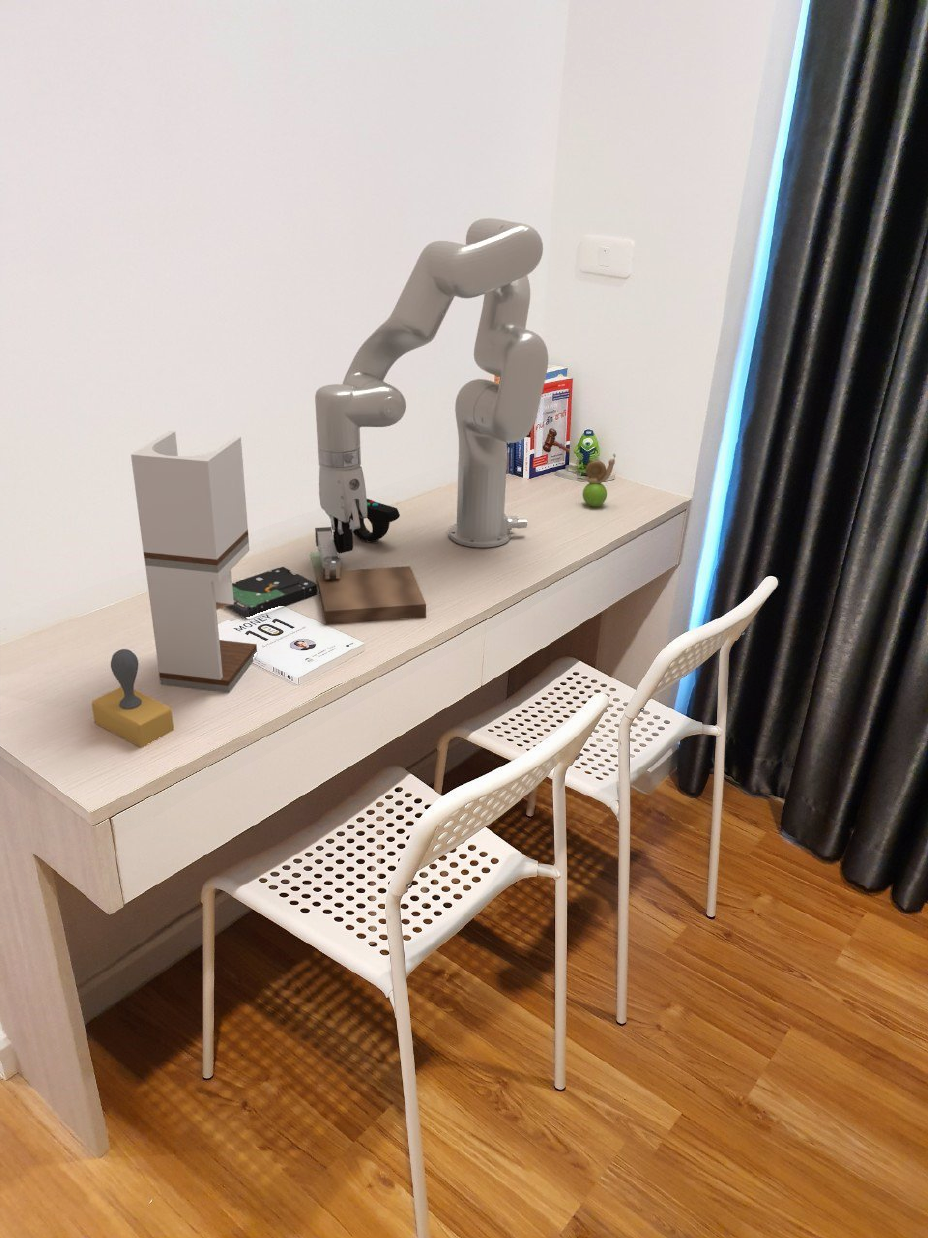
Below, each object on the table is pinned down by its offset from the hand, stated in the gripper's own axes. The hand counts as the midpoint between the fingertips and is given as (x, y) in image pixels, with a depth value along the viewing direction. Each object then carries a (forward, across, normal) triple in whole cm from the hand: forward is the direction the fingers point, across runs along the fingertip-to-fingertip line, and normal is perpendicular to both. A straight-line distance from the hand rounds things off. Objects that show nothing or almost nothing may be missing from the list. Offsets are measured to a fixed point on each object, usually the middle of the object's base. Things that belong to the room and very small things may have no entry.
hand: (343, 550), depth 182 cm
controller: (+4, +8, -11) cm, 14 cm away
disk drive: (+4, -4, +18) cm, 19 cm away
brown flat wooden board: (+3, -9, +1) cm, 9 cm away
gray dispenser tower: (+3, -22, +37) cm, 43 cm away
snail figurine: (+4, -2, -64) cm, 64 cm away
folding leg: (0, -2, +4) cm, 5 cm away
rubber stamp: (+3, -31, +52) cm, 60 cm away
